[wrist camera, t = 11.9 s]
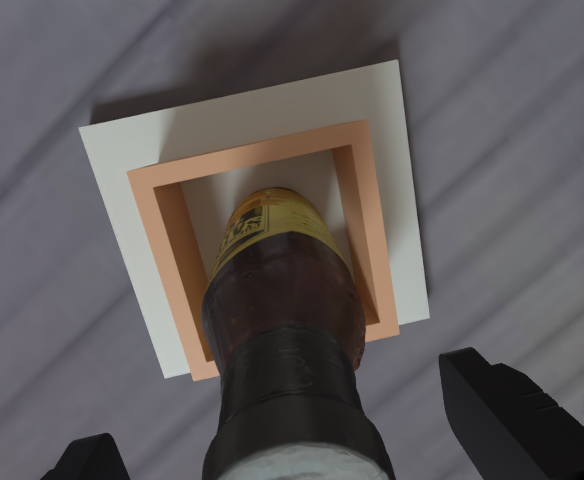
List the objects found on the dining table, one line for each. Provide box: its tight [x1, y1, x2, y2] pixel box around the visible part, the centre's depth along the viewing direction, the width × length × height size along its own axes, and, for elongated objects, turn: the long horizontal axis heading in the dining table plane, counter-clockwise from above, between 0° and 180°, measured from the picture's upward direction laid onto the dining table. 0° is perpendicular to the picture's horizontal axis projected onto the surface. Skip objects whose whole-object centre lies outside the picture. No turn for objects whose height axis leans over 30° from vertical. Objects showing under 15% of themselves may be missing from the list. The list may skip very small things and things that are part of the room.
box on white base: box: [79, 59, 430, 381], centre depth 24 cm, size 20×18×8 cm
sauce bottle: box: [201, 187, 396, 480], centre depth 17 cm, size 6×6×20 cm
